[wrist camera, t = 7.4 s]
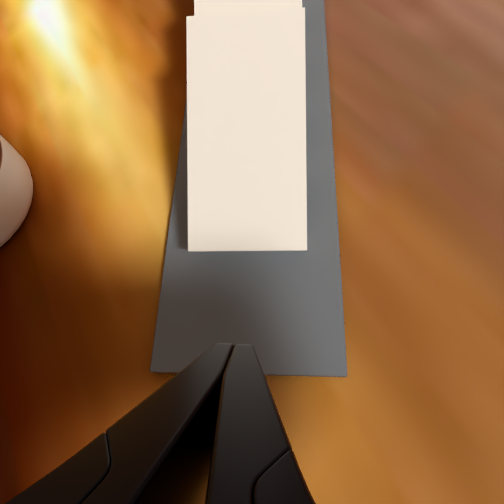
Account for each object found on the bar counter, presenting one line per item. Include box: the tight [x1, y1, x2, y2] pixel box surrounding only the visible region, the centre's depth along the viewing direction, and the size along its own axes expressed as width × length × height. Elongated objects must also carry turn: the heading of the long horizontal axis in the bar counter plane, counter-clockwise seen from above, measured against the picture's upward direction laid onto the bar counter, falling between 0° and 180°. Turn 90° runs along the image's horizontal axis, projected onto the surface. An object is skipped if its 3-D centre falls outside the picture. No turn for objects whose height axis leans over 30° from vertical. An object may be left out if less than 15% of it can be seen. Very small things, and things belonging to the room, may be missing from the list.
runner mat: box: [150, 0, 347, 377], centre depth 20 cm, size 24×8×1 cm, turn 178°
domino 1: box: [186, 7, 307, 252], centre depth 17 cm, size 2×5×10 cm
